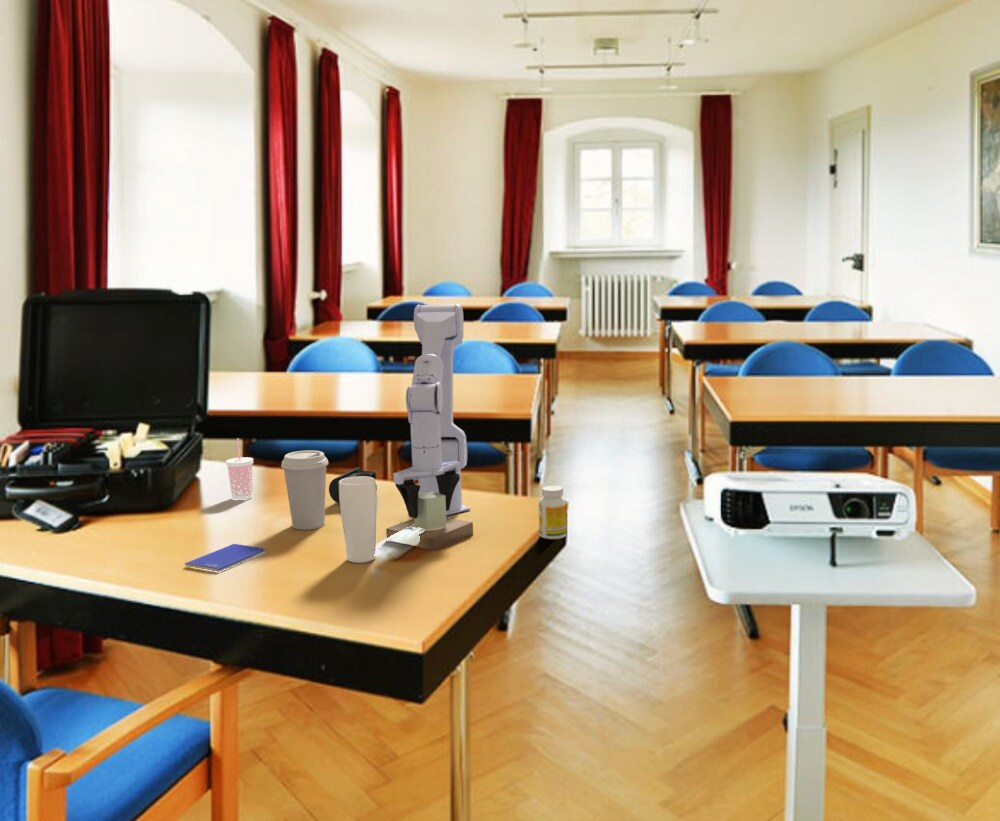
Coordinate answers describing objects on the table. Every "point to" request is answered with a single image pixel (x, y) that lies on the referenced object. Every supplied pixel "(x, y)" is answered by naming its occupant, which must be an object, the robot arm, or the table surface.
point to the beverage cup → (240, 476)
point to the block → (431, 511)
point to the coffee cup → (306, 488)
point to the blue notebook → (226, 557)
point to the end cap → (355, 472)
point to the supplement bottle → (552, 513)
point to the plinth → (438, 533)
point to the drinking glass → (359, 517)
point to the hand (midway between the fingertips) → (429, 513)
